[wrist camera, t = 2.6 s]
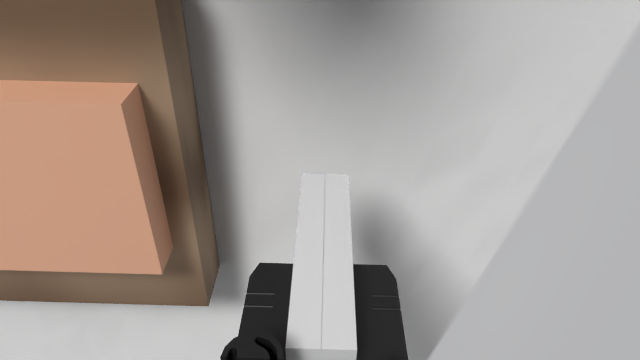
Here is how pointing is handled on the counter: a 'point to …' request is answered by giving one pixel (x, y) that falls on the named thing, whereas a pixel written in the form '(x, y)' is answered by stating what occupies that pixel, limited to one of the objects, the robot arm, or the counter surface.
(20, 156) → the card
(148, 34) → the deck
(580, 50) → the counter surface
